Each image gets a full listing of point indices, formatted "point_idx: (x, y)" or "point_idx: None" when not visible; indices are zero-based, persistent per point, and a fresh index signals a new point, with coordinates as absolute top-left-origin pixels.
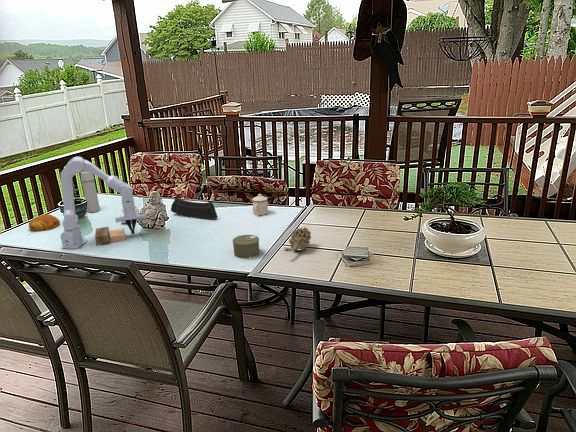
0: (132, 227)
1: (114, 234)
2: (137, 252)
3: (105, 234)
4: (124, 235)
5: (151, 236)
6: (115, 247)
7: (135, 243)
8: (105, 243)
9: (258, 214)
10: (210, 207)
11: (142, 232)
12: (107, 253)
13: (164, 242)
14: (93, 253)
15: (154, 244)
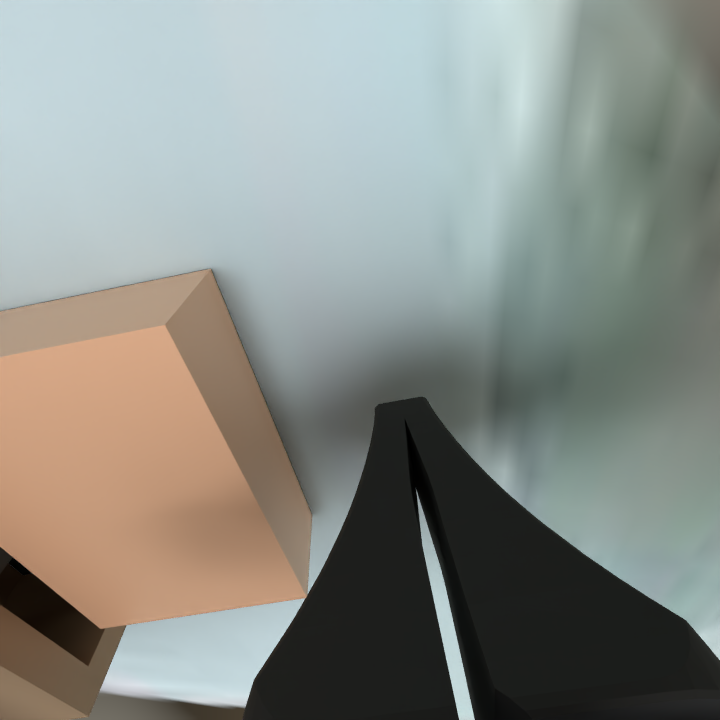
0: (448, 596)
1: (122, 576)
2: (459, 683)
3: (21, 706)
4: (304, 585)
5: (644, 466)
6: (259, 626)
7: (440, 587)
8: None
9: None
10: None
11: (559, 275)
12: (235, 681)
13: (700, 598)
14: (111, 677)
15: None
